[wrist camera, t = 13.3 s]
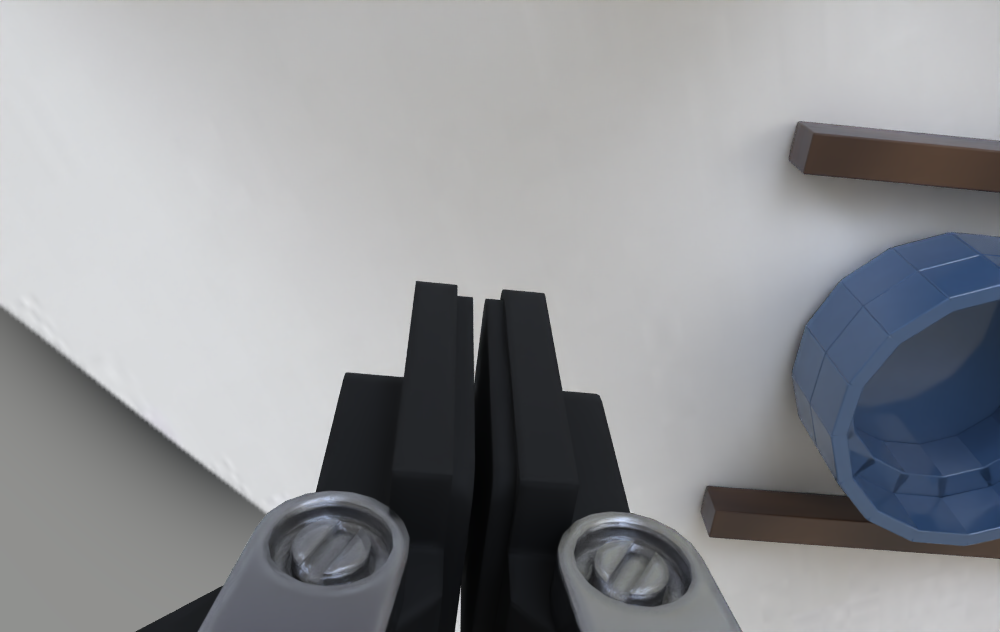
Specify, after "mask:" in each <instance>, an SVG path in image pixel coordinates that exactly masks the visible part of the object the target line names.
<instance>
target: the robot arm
mask: <svg viewBox="0 0 1000 632" xmlns="http://www.w3.org/2000/svg"><path fill="white" fill-rule="evenodd" d="M460 588H461V632H742V630H741V628H740V626H739V625H738V623H737V621H736V619H735V617H734V615H733V614H732V612H731V610H730V608H729V606H728V604H727V602H726V601H725V599H724V597H723V595H722V593H721V591H720V589H719V588H718V586H717V584H716V582H715V580H714V578H713V577H712V575H711V573H710V571H709V569H708V567H707V565H706V564H705V562H704V560H703V558H702V557H701V556H700V554H699V553H698V552H697V550H696V549H695V548H694V546H693V545H692V544H691V543H690V542H689V541H688V540H687V539H685V538H684V537H683V536H682V535H680V534H679V533H678V532H677V531H675V530H674V529H672V528H670V527H668V526H666V525H664V524H662V523H660V522H658V521H656V520H654V519H651V518H648V517H644V516H641V515H637V514H634V513H630V511H629V507H628V503H627V499H626V495H625V491H624V487H623V483H622V479H621V475H620V471H619V467H618V463H617V459H616V455H615V451H614V447H613V443H612V439H611V435H610V432H609V428H608V424H607V420H606V416H605V412H604V408H603V404H602V401H601V398H600V396H599V395H597V394H591V393H580V392H568V391H562V386H561V380H560V375H559V369H558V364H557V358H556V353H555V347H554V342H553V336H552V331H551V325H550V320H549V314H548V309H547V303H546V298H545V294H544V293H536V292H525V291H515V290H504V289H503V290H502V293H501V298H500V300H494V299H486V300H485V304H484V311H483V318H482V326H481V334H480V342H479V350H478V358H477V366H476V374H475V382H474V343H473V297H463V296H457V285H452V284H442V283H431V282H421V281H416V285H415V293H414V301H413V309H412V317H411V325H410V333H409V341H408V349H407V357H406V365H405V373H404V377H394V376H382V375H371V374H359V373H345V376H344V379H343V383H342V387H341V391H340V395H339V399H338V403H337V407H336V411H335V415H334V420H333V424H332V428H331V432H330V436H329V440H328V444H327V448H326V452H325V456H324V460H323V465H322V469H321V473H320V477H319V481H318V485H317V489H316V492H315V493H308V494H304V495H302V496H299V497H296V498H293V499H290V500H287V501H285V502H284V503H282V504H280V505H279V506H277V507H276V508H274V509H273V510H271V511H270V512H268V513H267V515H266V516H265V517H264V518H263V520H262V521H261V522H260V523H259V524H258V526H257V527H256V528H255V530H254V532H253V534H252V535H251V537H250V539H249V541H248V543H247V544H246V546H245V548H244V550H243V551H242V553H241V555H240V557H239V559H238V561H237V562H236V564H235V566H234V568H233V569H232V571H231V573H230V575H229V577H228V578H227V580H226V582H225V584H224V585H223V586H221V587H219V588H217V589H216V590H214V591H212V592H210V593H208V594H206V595H204V596H202V597H200V598H198V599H197V600H195V601H193V602H191V603H189V604H187V605H185V606H183V607H181V608H180V609H178V610H176V611H174V612H172V613H170V614H168V615H166V616H164V617H162V618H161V619H159V620H157V621H155V622H153V623H151V624H149V625H147V626H146V627H143V628H142V629H140V630H138V631H136V632H455V625H456V618H457V610H458V603H459V595H460Z"/></svg>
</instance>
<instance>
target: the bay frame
mask: <svg viewBox="0 0 1000 632" xmlns="http://www.w3.org/2000/svg"><path fill="white" fill-rule="evenodd" d="M789 161H790V162H791V163H792V164H793V165H794V166H796V167H797V168H798V169H799V170H800V171H801V172H802V173H804V174H810V175H820V176H831V177H841V178H852V179H862V180H873V181H883V182H894V183H904V184H915V185H925V186H936V187H947V188H957V189H968V190H978V191H989V192H999V193H1000V141H996V140H986V139H976V138H965V137H955V136H945V135H935V134H925V133H914V132H904V131H894V130H884V129H874V128H863V127H853V126H843V125H833V124H823V123H812V122H802V121H800V122H798V124H797V128H796V132H795V136H794V140H793V144H792V148H791V152H790V156H789ZM701 514H702V517H703V520H704V523H705V526H706V529H707V532H708V535H709V537H712V538H725V539H739V540H753V541H766V542H780V543H793V544H807V545H821V546H834V547H848V548H861V549H875V550H889V551H902V552H916V553H929V554H943V555H956V556H970V557H984V558H997V559H1000V539H996V540H992V541H987V542H983V543H978V544H974V545H969V546H967V545H966V546H956V545H944V544H932V543H920V542H912V541H909V540H907V539H905V538H903V537H901V536H899V535H897V534H895V533H892V532H890V531H888V530H886V529H884V528H882V527H880V526H878V525H876V524H874V523H872V522H870V521H868V520H867V519H865V518H864V517H863V515H862V514H861V513H860V512H859V510H858V509H857V508H856V506H855V505H854V504H853V503H852V501H851V500H850V499H849V498H848V497H844V496H831V495H818V494H805V493H792V492H779V491H766V490H753V489H739V488H726V487H713V486H707V488H706V492H705V496H704V500H703V504H702V508H701Z"/></svg>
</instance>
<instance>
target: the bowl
mask: <svg viewBox="0 0 1000 632" xmlns="http://www.w3.org/2000/svg"><path fill="white" fill-rule="evenodd" d="M792 379H793V385H794V391H795V397H796V403H797V409H798V415H799V417H800V420H801V422H802V423H803V425H804V427H805V428H806V430H807V432H808V433H809V435H810V437H811V439H812V440H813V442H814V444H815V445H816V447H817V449H818V451H819V452H820V454H821V456H822V457H823V459H824V461H825V463H826V464H827V466H828V468H829V469H830V471H831V473H832V475H833V476H834V478H835V480H836V481H837V483H838V485H839V486H840V487H841V489H842V490H843V491H844V492H845V494H846V495H847V496H848V498H849V499H850V500H851V501H852V503H853V504H854V505H855V506H856V508H857V509H858V510H859V512H860V513H861V514H862V515H863V517H864V518H865V519H867V520H868V521H870V522H872V523H874V524H876V525H878V526H880V527H882V528H884V529H886V530H888V531H890V532H892V533H895V534H897V535H899V536H901V537H903V538H905V539H907V540H909V541H912V542H920V543H932V544H944V545H956V546H966V545H967V546H969V545H974V544H978V543H983V542H987V541H992V540H996V539H1000V237H996V236H986V235H976V234H966V233H956V232H951V233H945V234H941V235H937V236H934V237H930V238H926V239H922V240H918V241H915V242H911V243H907V244H903V245H899V246H895V247H893V248H889V249H888V250H886V251H885V252H883V253H882V254H880V255H879V256H877V257H875V258H874V259H872V260H871V261H869V262H868V263H866V264H865V265H863V266H862V267H860V268H859V269H857V270H856V271H854V272H852V273H851V274H849V275H848V276H846V277H845V278H843V279H842V280H841V281H840V282H839V283H838V284H837V286H836V287H835V288H834V289H833V291H832V292H831V293H830V295H829V296H828V297H827V298H826V300H825V301H824V302H823V303H822V305H821V306H820V307H819V309H818V310H817V311H816V312H815V314H814V315H813V316H812V318H811V319H810V320H809V321H808V323H807V324H806V326H805V329H804V332H803V336H802V339H801V342H800V346H799V349H798V353H797V356H796V359H795V363H794V366H793V370H792Z"/></svg>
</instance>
